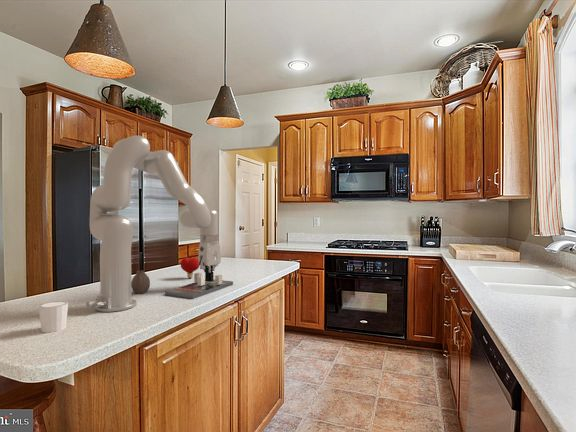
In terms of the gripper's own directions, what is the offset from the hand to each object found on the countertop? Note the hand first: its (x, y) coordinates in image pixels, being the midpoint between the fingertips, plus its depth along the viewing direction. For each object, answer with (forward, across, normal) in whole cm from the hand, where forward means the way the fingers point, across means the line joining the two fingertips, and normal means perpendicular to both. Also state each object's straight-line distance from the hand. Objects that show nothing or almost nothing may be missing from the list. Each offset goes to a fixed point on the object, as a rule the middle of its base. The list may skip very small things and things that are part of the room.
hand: (209, 281), depth 145 cm
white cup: (+3, -59, +7) cm, 60 cm away
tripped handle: (0, -5, 0) cm, 5 cm away
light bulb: (+3, +11, +20) cm, 23 cm away
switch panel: (+3, -5, 0) cm, 6 cm away
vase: (+3, -19, +19) cm, 27 cm away
